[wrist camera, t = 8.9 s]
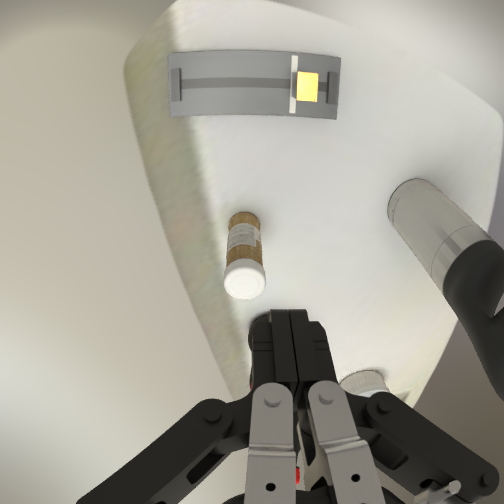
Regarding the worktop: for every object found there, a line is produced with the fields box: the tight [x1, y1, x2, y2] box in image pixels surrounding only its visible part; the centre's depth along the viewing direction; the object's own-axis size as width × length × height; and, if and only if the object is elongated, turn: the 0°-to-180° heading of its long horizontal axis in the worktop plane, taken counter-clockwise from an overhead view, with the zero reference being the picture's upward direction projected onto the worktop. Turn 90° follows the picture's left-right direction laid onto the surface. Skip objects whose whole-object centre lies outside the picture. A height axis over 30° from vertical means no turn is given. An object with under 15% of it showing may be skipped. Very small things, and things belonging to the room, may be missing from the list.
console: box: [168, 50, 341, 120], centre depth 32 cm, size 20×8×3 cm, turn 89°
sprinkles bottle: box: [224, 212, 266, 300], centre depth 39 cm, size 5×5×14 cm
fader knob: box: [291, 72, 318, 102], centre depth 30 cm, size 2×3×4 cm
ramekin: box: [340, 371, 390, 397], centre depth 67 cm, size 13×13×7 cm
